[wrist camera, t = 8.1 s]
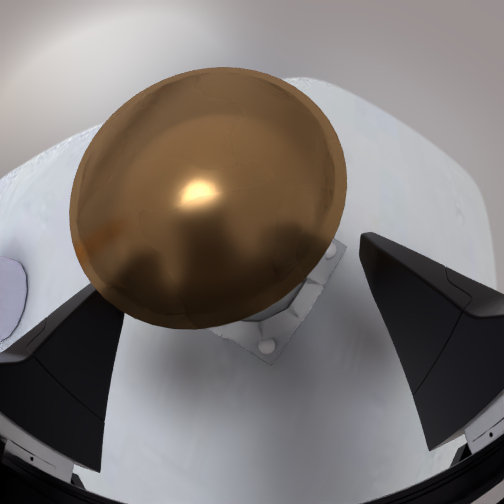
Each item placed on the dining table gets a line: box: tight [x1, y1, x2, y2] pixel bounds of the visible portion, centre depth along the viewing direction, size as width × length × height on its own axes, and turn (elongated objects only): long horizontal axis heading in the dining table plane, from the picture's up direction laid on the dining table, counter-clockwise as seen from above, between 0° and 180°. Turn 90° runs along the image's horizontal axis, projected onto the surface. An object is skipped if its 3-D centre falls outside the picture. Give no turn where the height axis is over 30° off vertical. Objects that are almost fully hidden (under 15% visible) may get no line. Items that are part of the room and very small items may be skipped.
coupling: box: [69, 67, 347, 330], centre depth 11 cm, size 5×5×13 cm
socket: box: [208, 238, 347, 365], centre depth 16 cm, size 9×9×3 cm
